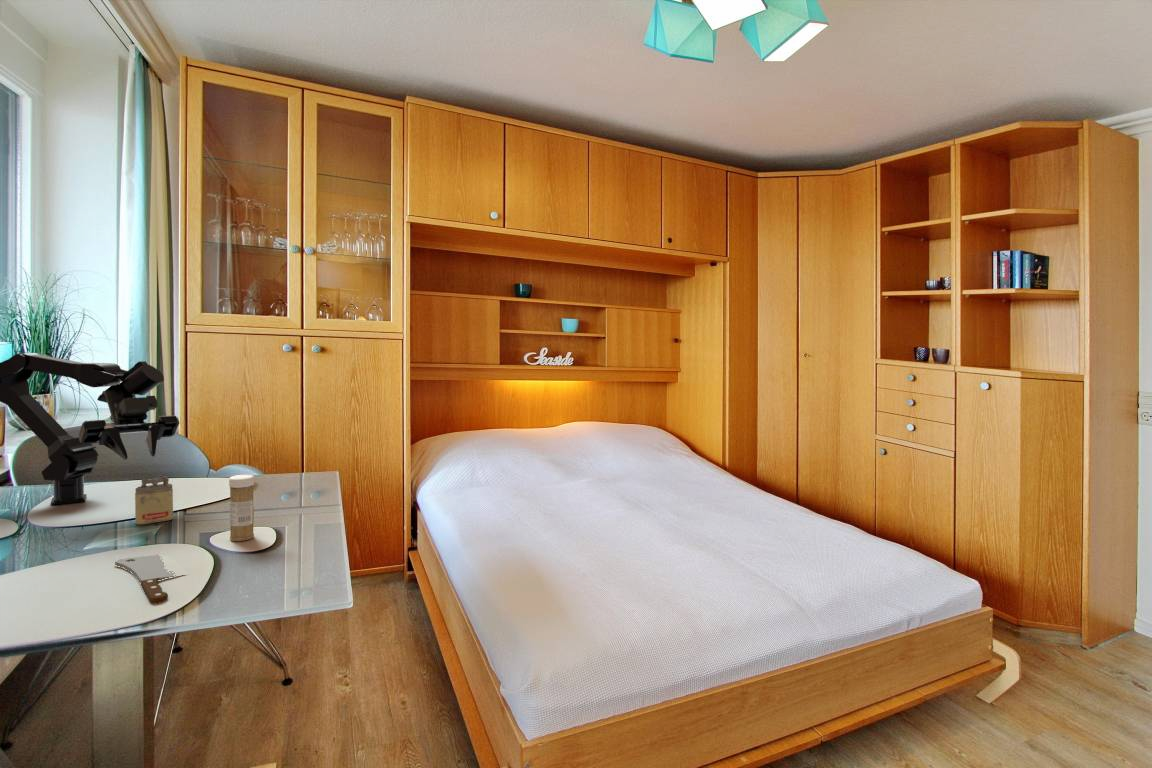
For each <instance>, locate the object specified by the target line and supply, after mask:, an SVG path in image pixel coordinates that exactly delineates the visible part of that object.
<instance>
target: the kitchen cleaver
mask: <svg viewBox="0 0 1152 768" xmlns="http://www.w3.org/2000/svg"><path fill="white" fill-rule="evenodd" d="M160 557H161V556H159V554H152V555H145V556H137V557H136V556H134V557H126V558H119V559H118V560H115V562H114V566H115V565H117V566H120V567H124V568H125V569H127V570H129V571H131V572H132V573H133V574H134V575H135V576H136V577H137V578H136V577H135V576H134V575H133V574H132V573H131V574H132V575H133V576H134V577H135V578H136V580H137V579H138V580H139V581H138V580H137V581H138V583H139V582H140V583H141V584H140V583H139V584H140V587H141V586H142V587H141V589H142V588H143V589H142V591H143V590H144V591H143V593H144V592H145V593H144V594H145V596H146V595H147V596H146V598H147V597H148V598H147V600H148V599H149V600H148V601H149V603H151V604H152V603H157V604H160V603H159V602H161V603H164V602H166V601H167V600H168V599H167V598H169V594H168V593H167V592H166V591H163V588H162V586H161V585H160V584H159V582H158V580H162V579H165V578H169V577H174V576H173V575H174V574H175V572H174V573H172V572H173V571H169V572H170V573H171V574H170V573H169V572H167V571H168V570H167V569H164V567H165V566H164V562H162V560H163V559H162V557H161V559H162V560H161V559H160ZM130 561H131V562H130ZM125 569H124V570H125ZM127 570H126V571H127ZM166 570H167V571H166ZM175 576H176V575H175ZM166 599H167V600H166ZM163 601H164V602H163Z"/></svg>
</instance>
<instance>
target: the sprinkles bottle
mask: <svg viewBox="0 0 1152 768" xmlns="http://www.w3.org/2000/svg"><path fill="white" fill-rule="evenodd" d="M254 485H255V476H254V475H253V474H238V475H232V476H230V477H229V479H228V486H229V492H230V493H229V496H230V500H229V526H230V528H229V529H230V530H229V531H230V537H229V540H230V541H232V542H245V540H246V541H249V540H251V539H253V538H254V537H255V533H254V521H255V520H254V519H255V511H254V510H255V509H254V487H255V486H254Z"/></svg>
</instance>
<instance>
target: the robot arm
mask: <svg viewBox="0 0 1152 768" xmlns="http://www.w3.org/2000/svg"><path fill="white" fill-rule="evenodd" d="M36 372H40V373H43V374H49V375H53V376H54V375H55V376H60V377H66V378H69V379H73V380H75V381H77V383H79V384H82V385H85V386H88V387H90V388H103V387H108V388H106V389H105V390H103V391H102V393H101V394H99V395H98V397H97V399H96V400H97V401H99V402H103V403H106V404H107V406H108V409H109V413H110V416H109V418H110V421H112V422H106V420H105V419H98V420H97V419H95V420H94V419H93V420H84V421H83V422H82V423H81V426H80V429H79V433H78V436H77V437H74V436H72V435H70V434H69V433H68V432H67V431H66V430H65V429H64V428H63V426H61V424H59V422H57V421H56V419H54V417H53V416H52V415H51V413H49V412H48V411H47V410H46V409H45V408H44V407H43V406H42V405H41V403H39V401H38V400H36V398H34V397H33V396H32V394H31V392H30V382H29V380H30V379H31V378H33V377H34V375H35V373H36ZM164 380H165V378H164V374H163V372H161V370H158V369H157V368H156V367H155V366H153V365H152V364H151V365H150V364H148V363H147V361H146V360H141V361H138V362H136V363H135V364H134V365H133V366H132V367H131V368H130V369H128V370H127V369H126V370H125V369H122V368H121V366H120V365H118V364H117V363H113V362H112V363H111V362H81V361H80V362H79V361H77V360H76V361H75V360H70V359H64V358H59V357H53V356H48V355H43V354H39V353H37V352H19V353H16V354H13V356H11V357H9V358H8V359H6V360H3V361H1V362H0V403H2V404H5V405H6V406H7V407H8V408H9V409H10V410H11V411H12V412H13V413H14V414H15V415H16V416H17V417H18V418H19V420H21V421H22V422H23V424H24V425H26V426H27V428H28V429H30V431H31V432H33V434H34V435H35V436H36V437H37V438H38V439H39V440H40V441H41V442H42V443H43V445H45V446H46V448H47V455H48V456H47V457H48V459H49V462H50V463H49V464H48V465H47V466H46V467H45V468H44V469H43V470H42V471H41V475H42V477H43V480H44V481H53V485H52V486H53V487H52V489H53V497H52V498H51V500H50V506H54V505H64V504H66V505H67V504H72V503H73V504H75V503H82V502H86V501H87V494H86V493H85V488H84V487H85V482H84V481H85V479H84V475H87V474H92V472H93V470H94V467H95V465H96V464H97V462H98V456H99V454H98V452H97V450H96V448H97V447H96V445H94V444H98V446H104V447H106V448H108V449H109V450H111V451H113V452H114V453H115V454H116V455H118V457H120V458H122V459H123V460H124V461H125V460H127V459H128V453H127V449H126V447H125V444H124V442H123V440H122V438H121V437H122V436H121V435H124V434H134V433H137V434H139V433H146V434H147V436H146V438H145V442H146V444H147V448H148V451H149V453H150V455H151V457H152V458H153V457H155V456H156V451H157V443H158V441H159V440H161V438H170V437H171V438H172V437H173V436H174V435H175V434H176V432H177V430H178V427H179V425H180V420H179V418H178V416H176V415H160V416H159V415H158V416H157V418H156V420H155V422H145V420H147V419H148V415H147V414H148V412H150V411H155V410H156V409H157V408H158V406H159V403H158V400H157V397H156V395H147V394H148V393H149V392H151V391H152V390H154V388H156V387H157V386H159V385H160V384H161V383H163V382H164ZM137 395H138V396H142V397H137ZM145 395H146V396H145ZM143 396H145V397H143Z"/></svg>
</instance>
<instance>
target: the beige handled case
mask: <svg viewBox="0 0 1152 768" xmlns="http://www.w3.org/2000/svg"><path fill="white" fill-rule="evenodd" d="M169 480H170V479H169V478H168V476H165V475H164V476H163V477H158V478H157V477H156V478H155V477H154V478H150V479H148V478H143V479H141V485H140V486H137V487H136V488H135V493H134V500H135V501H134V504H135V511H134V512H135V519H134V520H135V522H134V523H135V525H147V524H152V523H153V524H155V523H161V522H167V521H170V520H173V519H174V489H173V484H172V483H169ZM148 484H150V485H148Z"/></svg>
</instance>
